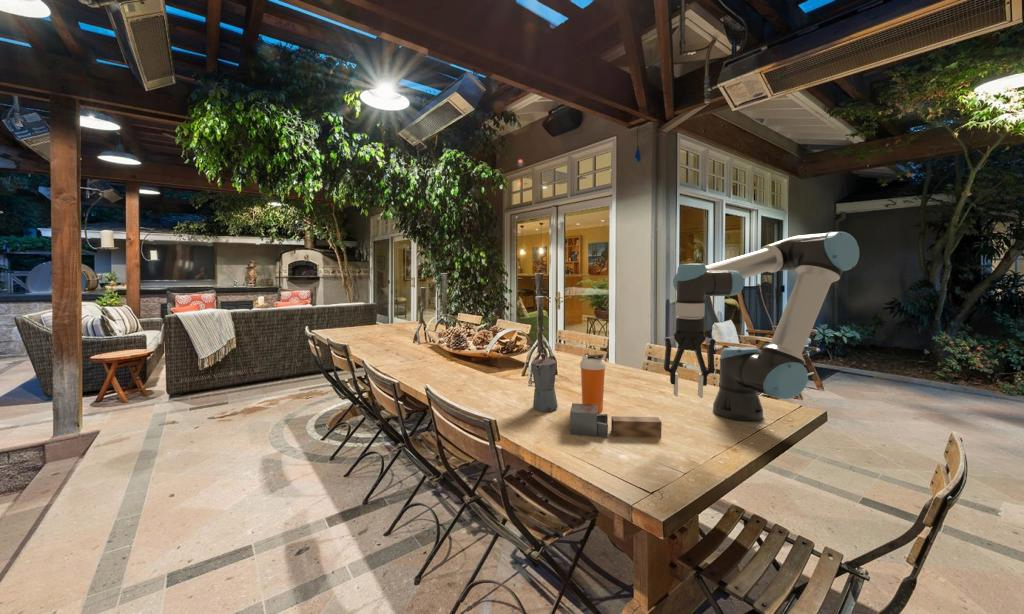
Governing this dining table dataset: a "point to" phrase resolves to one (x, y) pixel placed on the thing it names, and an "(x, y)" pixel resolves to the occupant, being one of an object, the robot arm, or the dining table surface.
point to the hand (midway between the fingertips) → (687, 395)
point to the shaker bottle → (593, 379)
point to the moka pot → (544, 384)
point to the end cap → (588, 421)
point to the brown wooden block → (636, 426)
